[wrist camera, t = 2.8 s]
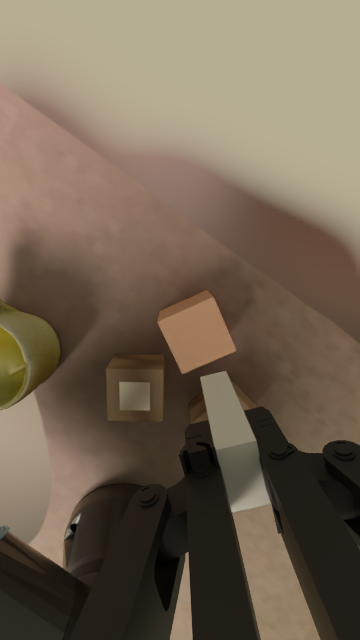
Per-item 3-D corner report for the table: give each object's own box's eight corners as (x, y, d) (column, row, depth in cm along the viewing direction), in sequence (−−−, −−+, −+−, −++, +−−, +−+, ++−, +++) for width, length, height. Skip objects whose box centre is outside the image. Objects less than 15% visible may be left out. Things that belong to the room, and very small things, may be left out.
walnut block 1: (115, 399, 38) (106, 421, 33) (114, 353, 37) (105, 369, 32) (164, 400, 38) (162, 422, 33) (164, 354, 37) (163, 370, 32)
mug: (81, 392, 36) (9, 422, 26) (12, 389, 39) (-75, 415, 29) (75, 286, 35) (1, 278, 26) (6, 292, 39) (-82, 287, 29)
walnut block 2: (220, 433, 39) (227, 460, 34) (188, 403, 38) (190, 425, 33) (255, 404, 39) (267, 426, 34) (223, 371, 38) (231, 390, 33)
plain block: (180, 355, 37) (182, 374, 31) (159, 310, 36) (157, 321, 30) (226, 335, 37) (236, 350, 31) (206, 289, 35) (213, 296, 30)
